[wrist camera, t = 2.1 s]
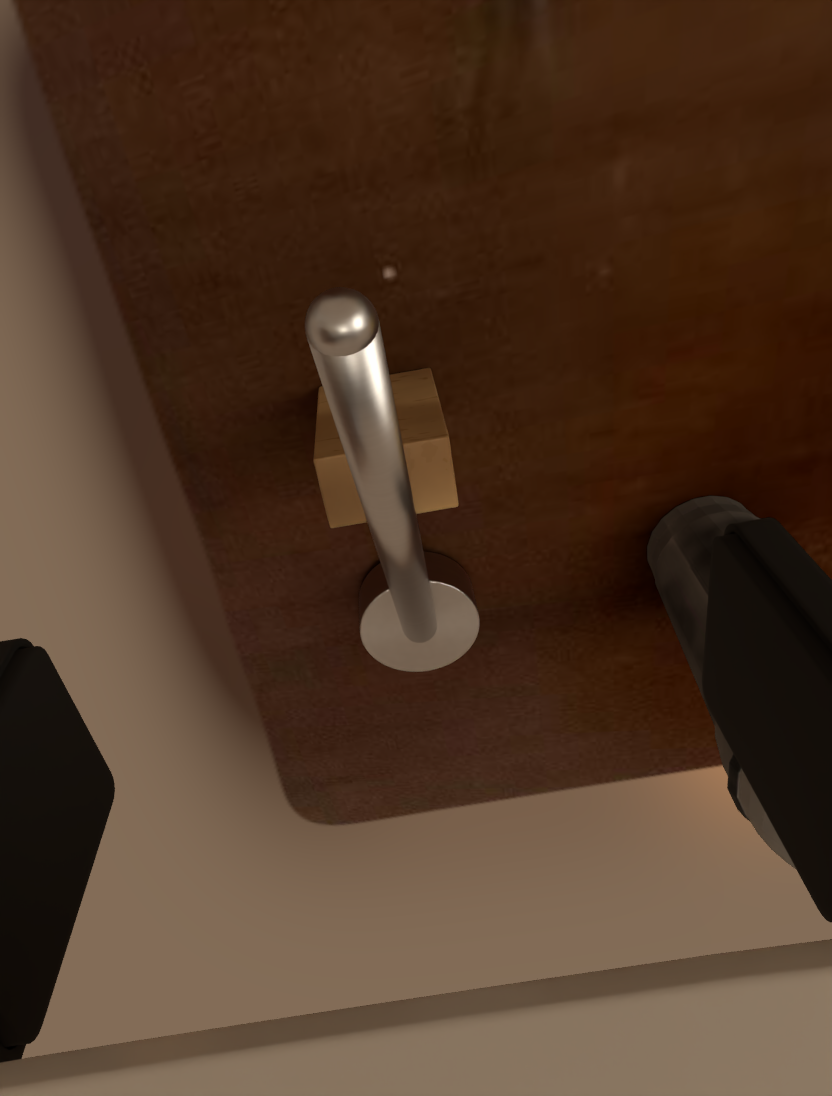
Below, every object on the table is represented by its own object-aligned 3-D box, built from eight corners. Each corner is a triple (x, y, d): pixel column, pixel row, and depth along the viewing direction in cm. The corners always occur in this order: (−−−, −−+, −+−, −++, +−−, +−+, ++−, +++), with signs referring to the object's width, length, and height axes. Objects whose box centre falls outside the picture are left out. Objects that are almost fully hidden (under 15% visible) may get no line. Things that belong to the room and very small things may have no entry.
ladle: (478, 629, 34) (532, 871, 24) (370, 648, 34) (382, 895, 25) (415, 163, 23) (469, 278, 14) (256, 192, 23) (200, 325, 14)
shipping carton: (439, 428, 29) (458, 507, 24) (332, 447, 29) (330, 529, 24) (430, 366, 27) (448, 436, 22) (318, 386, 27) (312, 459, 22)
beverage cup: (781, 438, 30) (1338, 940, 13) (794, 582, 34) (1238, 1110, 17) (597, 500, 31) (899, 1044, 14) (631, 632, 35) (899, 1183, 18)
